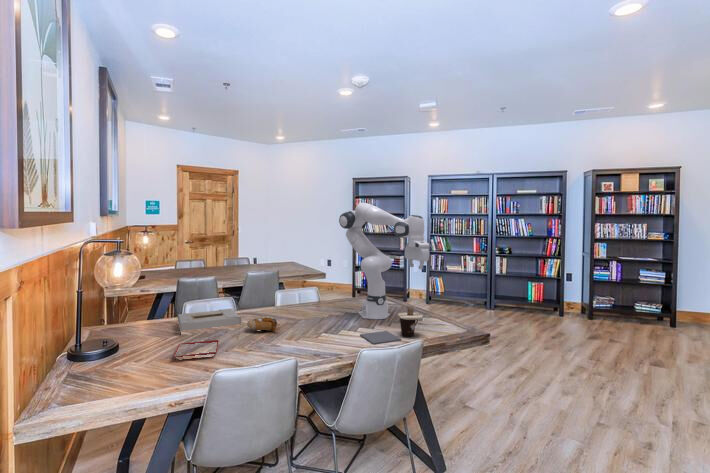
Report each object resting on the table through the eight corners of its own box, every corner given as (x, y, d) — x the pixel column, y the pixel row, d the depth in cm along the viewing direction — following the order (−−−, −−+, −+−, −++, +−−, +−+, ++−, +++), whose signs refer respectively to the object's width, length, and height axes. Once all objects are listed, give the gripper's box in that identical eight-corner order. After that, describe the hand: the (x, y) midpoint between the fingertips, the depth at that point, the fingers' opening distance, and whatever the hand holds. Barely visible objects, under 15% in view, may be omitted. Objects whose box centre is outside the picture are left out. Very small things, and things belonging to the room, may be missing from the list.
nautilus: (289, 332, 214) (266, 340, 203) (264, 323, 228) (242, 330, 216) (288, 319, 213) (266, 326, 202) (264, 310, 227) (242, 316, 215)
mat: (359, 335, 207) (359, 334, 207) (386, 332, 214) (386, 330, 214) (373, 344, 193) (373, 343, 193) (401, 340, 199) (401, 339, 199)
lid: (393, 315, 211) (393, 306, 211) (413, 312, 216) (413, 303, 216) (406, 320, 199) (406, 311, 199) (427, 318, 205) (427, 308, 204)
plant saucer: (173, 363, 169) (172, 355, 169) (179, 349, 186) (178, 343, 186) (217, 359, 174) (217, 351, 174) (219, 346, 191) (218, 339, 191)
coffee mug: (403, 338, 202) (403, 319, 202) (397, 333, 211) (397, 315, 210) (423, 336, 205) (423, 317, 205) (416, 332, 214) (417, 314, 213)
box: (180, 337, 207) (241, 328, 222) (179, 322, 206) (241, 315, 222) (176, 327, 227) (233, 319, 242) (176, 314, 227) (232, 307, 242)
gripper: (402, 242, 229) (401, 266, 230) (421, 244, 211) (421, 270, 211) (411, 242, 232) (411, 265, 233) (431, 244, 213) (431, 269, 214)
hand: (416, 268), depth 222 cm, fingers open, 8 cm apart
